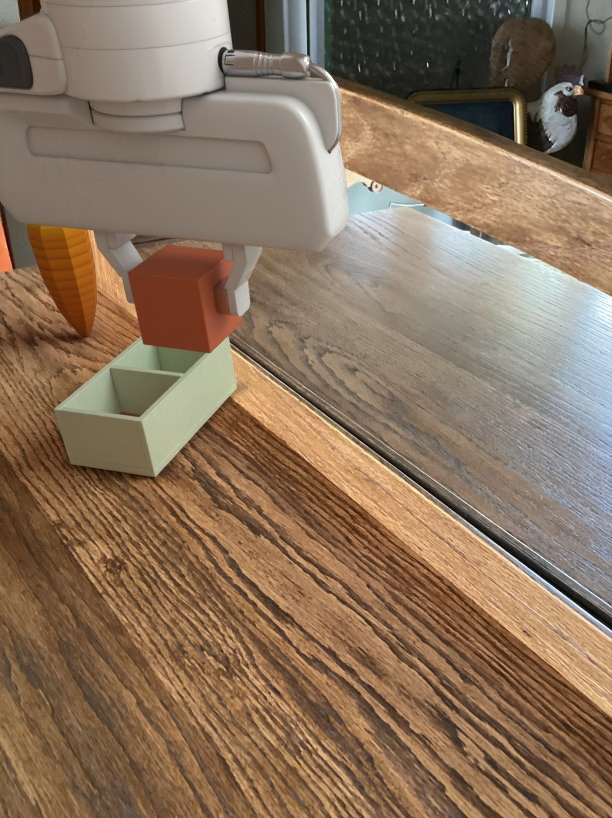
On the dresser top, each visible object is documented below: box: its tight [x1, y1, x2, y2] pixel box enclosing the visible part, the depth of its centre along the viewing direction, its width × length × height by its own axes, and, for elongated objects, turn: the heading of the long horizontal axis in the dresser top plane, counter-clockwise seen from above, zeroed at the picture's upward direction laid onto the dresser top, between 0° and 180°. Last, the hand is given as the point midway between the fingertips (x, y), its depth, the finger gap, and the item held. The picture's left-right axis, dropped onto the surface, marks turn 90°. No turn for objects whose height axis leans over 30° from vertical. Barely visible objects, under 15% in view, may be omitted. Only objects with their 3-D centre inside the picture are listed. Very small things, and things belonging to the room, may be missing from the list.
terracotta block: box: [128, 244, 244, 353], centre depth 53 cm, size 4×4×4 cm
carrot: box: [26, 224, 98, 338], centre depth 77 cm, size 5×5×15 cm
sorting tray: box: [53, 336, 238, 478], centre depth 68 cm, size 7×14×5 cm, turn 163°
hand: (188, 306), depth 53 cm, fingers closed on terracotta block, 4 cm apart
